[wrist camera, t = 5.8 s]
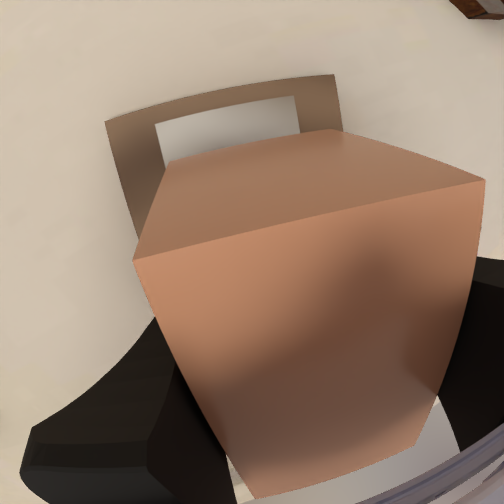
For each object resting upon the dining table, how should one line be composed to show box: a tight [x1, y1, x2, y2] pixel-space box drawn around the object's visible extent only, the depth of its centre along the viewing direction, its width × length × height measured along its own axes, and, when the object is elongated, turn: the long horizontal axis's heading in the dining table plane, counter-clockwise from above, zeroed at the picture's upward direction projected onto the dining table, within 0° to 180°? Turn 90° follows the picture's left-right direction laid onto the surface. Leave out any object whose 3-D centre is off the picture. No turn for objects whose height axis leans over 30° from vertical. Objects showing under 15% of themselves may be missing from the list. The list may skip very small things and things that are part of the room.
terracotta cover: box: [132, 129, 485, 499], centre depth 9 cm, size 9×6×7 cm, turn 11°
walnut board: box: [105, 74, 343, 239], centre depth 21 cm, size 23×13×1 cm, turn 11°
